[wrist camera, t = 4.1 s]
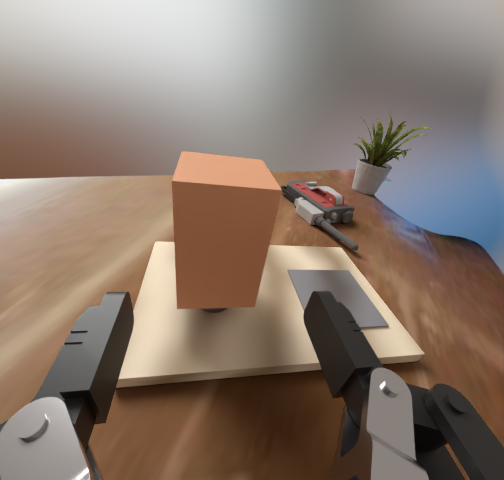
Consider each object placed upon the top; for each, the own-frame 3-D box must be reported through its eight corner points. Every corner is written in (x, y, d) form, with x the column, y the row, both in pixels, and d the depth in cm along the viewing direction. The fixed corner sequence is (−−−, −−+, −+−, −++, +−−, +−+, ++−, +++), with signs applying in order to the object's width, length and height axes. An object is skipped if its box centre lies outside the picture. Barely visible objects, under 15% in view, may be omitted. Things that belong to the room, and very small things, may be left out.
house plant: (415, 203, 52) (462, 122, 43) (374, 208, 46) (420, 114, 37) (364, 179, 62) (394, 110, 53) (326, 181, 56) (352, 102, 47)
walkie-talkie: (269, 195, 44) (347, 259, 30) (273, 172, 42) (361, 230, 28) (305, 192, 48) (389, 248, 34) (311, 171, 46) (404, 222, 32)
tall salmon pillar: (176, 309, 16) (171, 180, 11) (183, 258, 20) (182, 150, 15) (254, 307, 17) (282, 190, 12) (245, 259, 21) (262, 160, 16)
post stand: (114, 388, 14) (61, 234, 8) (156, 249, 25) (146, 142, 19) (417, 361, 19) (525, 251, 13) (338, 253, 30) (375, 169, 24)
